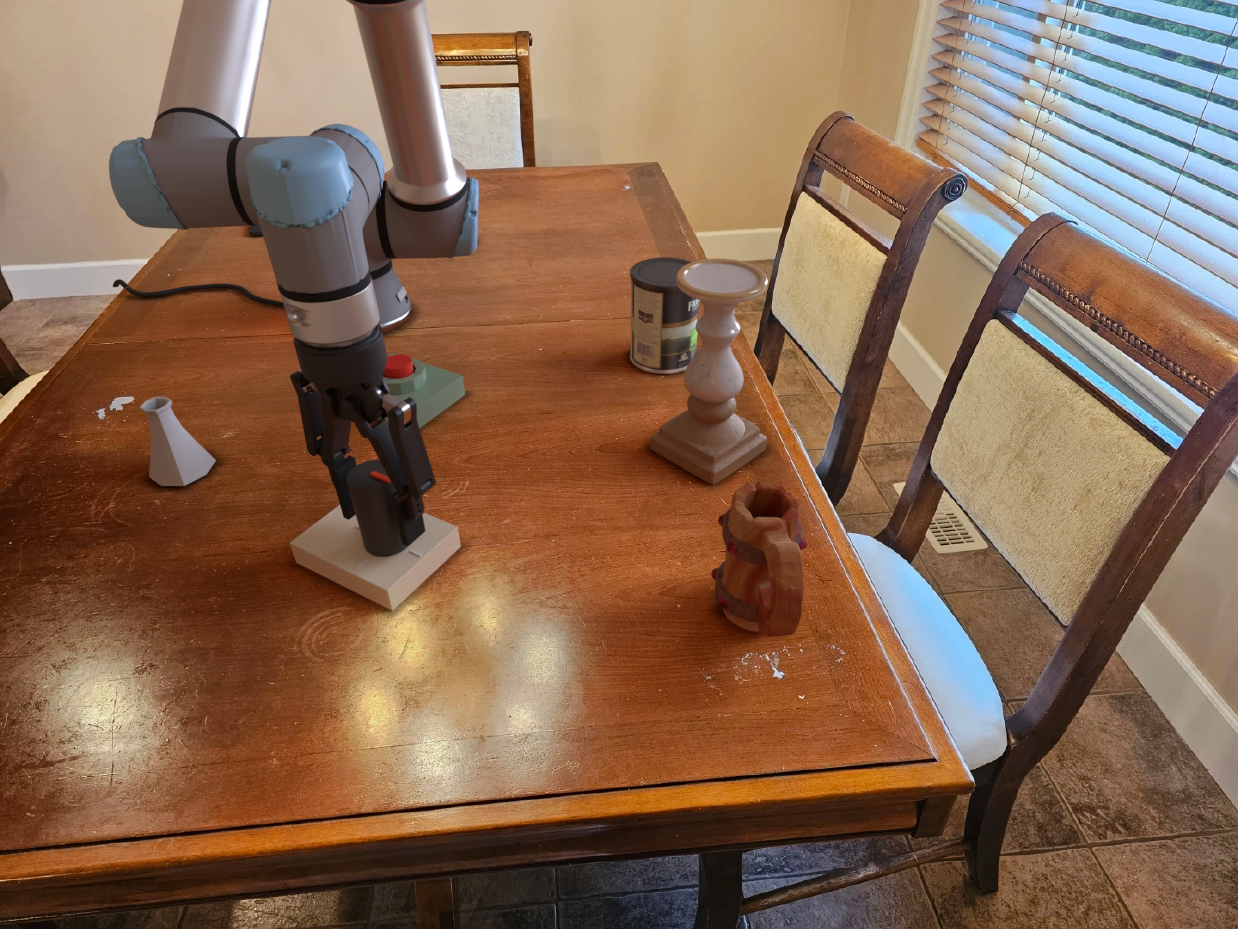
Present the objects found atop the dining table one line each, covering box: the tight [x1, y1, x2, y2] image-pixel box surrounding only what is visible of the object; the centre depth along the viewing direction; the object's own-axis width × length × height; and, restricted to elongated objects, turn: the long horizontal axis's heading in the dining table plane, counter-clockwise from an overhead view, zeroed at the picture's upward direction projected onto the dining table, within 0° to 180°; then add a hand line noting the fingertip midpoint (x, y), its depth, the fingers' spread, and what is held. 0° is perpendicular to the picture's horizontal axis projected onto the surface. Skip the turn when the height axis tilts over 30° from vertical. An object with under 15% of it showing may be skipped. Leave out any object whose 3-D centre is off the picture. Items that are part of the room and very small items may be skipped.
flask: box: [139, 396, 217, 487], centre depth 97 cm, size 7×7×10 cm
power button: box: [384, 353, 414, 379], centre depth 109 cm, size 4×4×2 cm
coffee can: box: [629, 256, 701, 375], centre depth 117 cm, size 10×10×14 cm
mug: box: [710, 480, 808, 638], centre depth 75 cm, size 15×8×15 cm, turn 5°
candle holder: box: [649, 257, 769, 485], centre depth 96 cm, size 11×11×24 cm
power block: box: [376, 352, 466, 429], centre depth 111 cm, size 13×11×5 cm
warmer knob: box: [346, 459, 407, 557], centre depth 82 cm, size 5×5×9 cm
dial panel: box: [289, 504, 462, 612], centre depth 87 cm, size 14×11×3 cm
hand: (384, 524), depth 83 cm, fingers open, 7 cm apart
